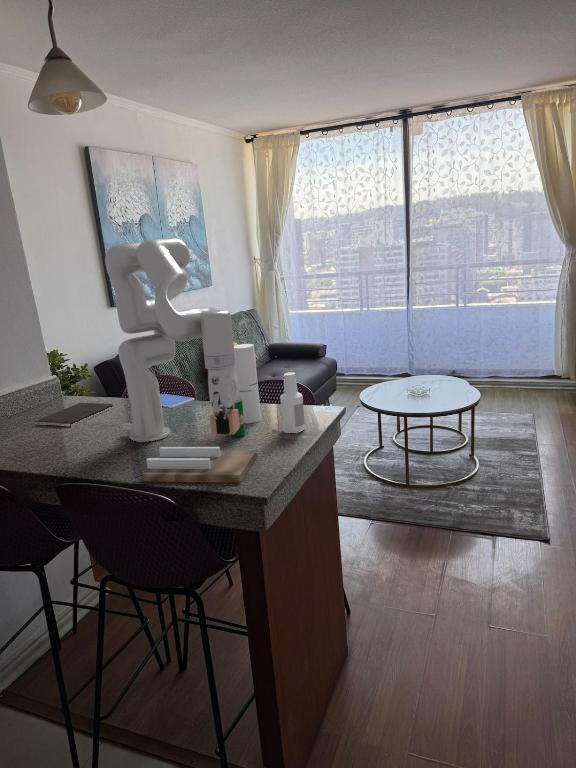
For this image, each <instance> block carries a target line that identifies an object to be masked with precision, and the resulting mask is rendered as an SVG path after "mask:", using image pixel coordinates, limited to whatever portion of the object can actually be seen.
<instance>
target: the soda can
mask: <svg viewBox="0 0 576 768" xmlns="http://www.w3.org/2000/svg"><path fill="white" fill-rule="evenodd" d="M234 404H235V409H238V413H239V423H240V428H239V429H238V430H237V432H236V433H235V434H228V436H230V437H231V438H233V439H234V438H235V439H236V438H242V437H244V436H245V434H246V425H245V424H246V423H244V413H243V404H242V399H241V397H240V396H239V398H238V400H237V401H236V402H235V403H234Z"/></svg>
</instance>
